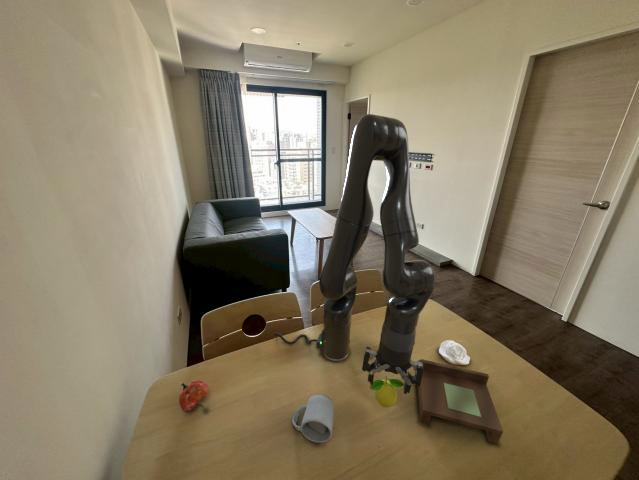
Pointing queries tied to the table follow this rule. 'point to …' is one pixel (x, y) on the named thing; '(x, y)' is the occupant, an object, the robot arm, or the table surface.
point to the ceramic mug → (316, 418)
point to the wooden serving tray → (458, 398)
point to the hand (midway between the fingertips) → (387, 386)
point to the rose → (454, 353)
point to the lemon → (386, 391)
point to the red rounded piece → (192, 395)
